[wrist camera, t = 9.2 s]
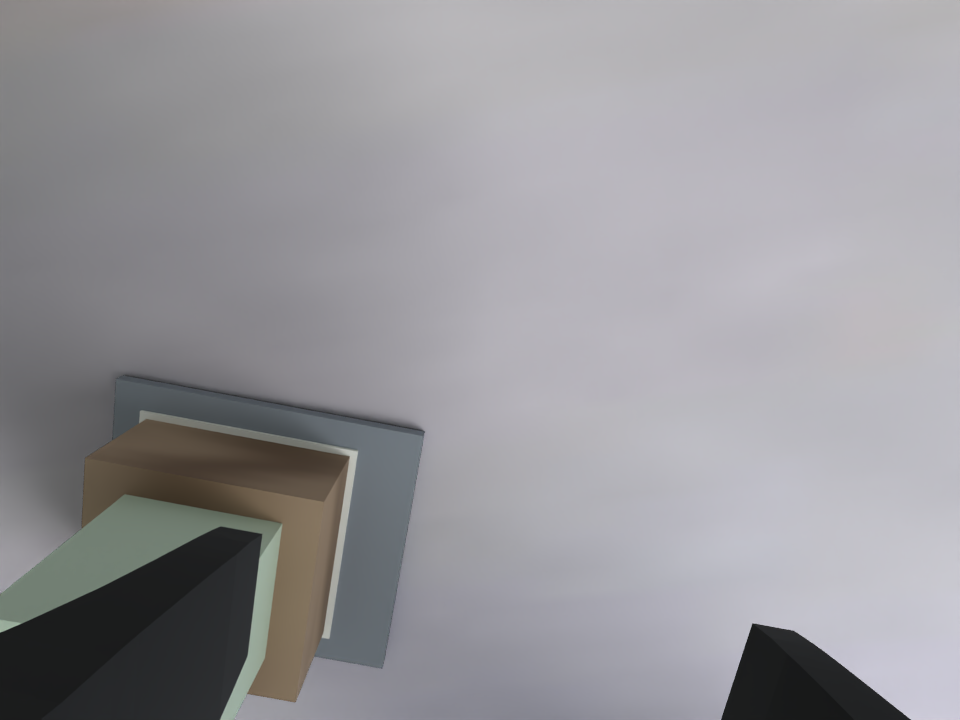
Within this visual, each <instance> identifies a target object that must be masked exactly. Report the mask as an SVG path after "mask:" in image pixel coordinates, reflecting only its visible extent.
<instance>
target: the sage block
mask: <svg viewBox="0 0 960 720" xmlns="http://www.w3.org/2000/svg"><path fill="white" fill-rule="evenodd" d="M220 526H222V527H228V528H233V529H238V530H244V531H249V532H255V533H260V534H262V541H261V549H260V558H259V566H258V574H257V583H256V591H255V599H254V608H253V616H252V624H251V633H250V641H249V649H248V656H247V659H246V661H245V663H244V666H243V668H242V670H241V673H240V675H239V678H238V680H237V682H236V685H235V687H234V689H233V692H232V694H231V696H230V698H229V701H228V703H227V705H226V707H225V710H224V712H223V714H222V716H221V719H220V720H234V718H235V716H236V714H237V713H238V711H239V709H240V707H241V705H242V703H243V701H244V699H245V697H246V695H247V693H248V691H249V689H250V687H251V685H252V683H253V681H254V679H255V677H256V675H257V673H258V671H259V669H260V667H261V665H262V663H263V661H264V659H265V654H266V646H267V638H268V631H269V623H270V615H271V607H272V600H273V592H274V584H275V577H276V569H277V561H278V554H279V546H280V538H281V531H282V523H277V522H272V521H266V520H261V519H256V518H250V517H245V516H239V515H234V514H229V513H223V512H218V511H212V510H207V509H202V508H196V507H191V506H186V505H180V504H175V503H169V502H164V501H159V500H153V499H148V498H142V497H137V496H132V495H126V494H124V495H123V496H122V497H121V498H119V499H118V500H117V501H116V502H115V503H113V504H112V505H111V506H110V507H108V508H107V509H106V510H105V511H103V512H102V513H101V514H100V515H98V516H97V517H96V518H95V519H93V520H92V521H91V522H90V523H88V524H87V525H86V526H85V527H83V528H82V529H81V530H80V531H78V532H77V533H76V534H75V535H73V536H72V537H71V538H70V539H68V540H67V541H66V542H65V543H63V544H62V545H61V546H60V547H58V548H57V549H56V550H55V551H53V552H52V553H51V554H50V555H48V556H47V557H46V558H45V559H44V560H42V561H41V562H40V563H39V564H37V565H36V566H35V567H34V568H32V569H31V570H30V571H29V572H27V573H26V574H25V575H24V576H22V577H21V578H20V579H19V580H17V581H16V582H15V583H14V584H12V585H11V586H10V587H9V588H7V589H6V590H5V591H4V592H2V593H1V594H0V632H3V631H5V630H8V629H10V628H12V627H15V626H17V625H20V624H22V623H24V622H26V621H29V620H31V619H33V618H35V617H37V616H39V615H42V614H44V613H46V612H48V611H50V610H52V609H55V608H57V607H59V606H61V605H63V604H65V603H68V602H70V601H72V600H74V599H76V598H78V597H81V596H83V595H85V594H87V593H89V592H92V591H94V590H96V589H98V588H100V587H102V586H104V585H106V584H108V583H110V582H112V581H114V580H116V579H118V578H120V577H122V576H124V575H126V574H128V573H130V572H132V571H134V570H136V569H138V568H139V567H141V566H143V565H145V564H147V563H149V562H151V561H153V560H155V559H157V558H159V557H161V556H163V555H165V554H166V553H168V552H170V551H172V550H174V549H176V548H178V547H180V546H182V545H184V544H185V543H187V542H189V541H191V540H193V539H195V538H197V537H199V536H201V535H203V534H205V533H207V532H209V531H211V530H213V529H215V528H218V527H220Z"/></svg>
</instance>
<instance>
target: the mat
mask: <svg viewBox="0 0 960 720" xmlns="http://www.w3.org/2000/svg"><path fill="white" fill-rule="evenodd" d="M145 419H150V420H155V421H161V422H166V423H171V424H177V425H182V426H188V427H193V428H198V429H204V430H209V431H215V432H220V433H225V434H231V435H236V436H242V437H247V438H252V439H258V440H263V441H269V442H274V443H279V444H285V445H290V446H296V447H301V448H306V449H312V450H317V451H323V452H328V453H333V454H339V455H344V456H350V459H349V466H348V473H347V479H346V486H345V493H344V499H343V506H342V513H341V519H340V526H339V533H338V539H337V546H336V553H335V559H334V566H333V573H332V579H331V586H330V593H329V599H328V606H327V612H326V619H325V626H324V632H323V635H322V637H321V640H320V642H319V645H318V647H317V650H316V652H315V655H314V656H315V657H321V658H326V659H332V660H337V661H343V662H348V663H354V664H360V665H365V666H371V667H376V668H382V667H383V663H384V658H385V653H386V647H387V641H388V636H389V630H390V625H391V619H392V613H393V608H394V602H395V596H396V591H397V585H398V579H399V574H400V568H401V563H402V557H403V551H404V546H405V540H406V534H407V529H408V523H409V517H410V512H411V506H412V500H413V495H414V489H415V484H416V478H417V472H418V467H419V461H420V455H421V450H422V444H423V438H424V433H425V431H419V430H414V429H409V428H403V427H398V426H393V425H387V424H382V423H376V422H371V421H366V420H360V419H355V418H350V417H344V416H339V415H333V414H328V413H323V412H317V411H312V410H307V409H301V408H296V407H291V406H285V405H280V404H274V403H269V402H264V401H258V400H253V399H248V398H242V397H237V396H231V395H226V394H221V393H215V392H210V391H205V390H199V389H194V388H189V387H183V386H178V385H172V384H167V383H162V382H156V381H151V380H146V379H140V378H135V377H129V376H124V375H123V376H121V377H119V378H117V379H116V387H115V404H114V421H113V439H112V440H114V439H116V438H117V437H119V436H120V435H122V434H123V433H125V432H126V431H128V430H130V429H131V428H133V427H134V426H136V425H137V424H139V423H141V422H142V421H144V420H145Z"/></svg>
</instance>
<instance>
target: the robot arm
mask: <svg viewBox="0 0 960 720" xmlns="http://www.w3.org/2000/svg"><path fill="white" fill-rule="evenodd" d="M261 541H262V534H260V533H255V532H249V531H244V530H238V529H233V528H228V527H222V526H220V527H218V528H215V529H213V530H211V531H209V532H207V533H205V534H203V535H201V536H199V537H197V538H195V539H193V540H191V541H189V542H187V543H185V544H184V545H182V546H180V547H178V548H176V549H174V550H172V551H170V552H168V553H166V554H165V555H163V556H161V557H159V558H157V559H155V560H153V561H151V562H149V563H147V564H145V565H143V566H141V567H139V568H138V569H136V570H134V571H132V572H130V573H128V574H126V575H124V576H122V577H120V578H118V579H116V580H114V581H112V582H110V583H108V584H106V585H104V586H102V587H100V588H98V589H96V590H94V591H92V592H89V593H87V594H85V595H83V596H81V597H78V598H76V599H74V600H72V601H70V602H68V603H65V604H63V605H61V606H59V607H57V608H55V609H52V610H50V611H48V612H46V613H44V614H42V615H39V616H37V617H35V618H33V619H31V620H29V621H26V622H24V623H22V624H20V625H17V626H15V627H12V628H10V629H8V630H5V631H3V632H0V720H220V719H221V716H222V714H223V712H224V710H225V707H226V705H227V703H228V701H229V698H230V696H231V694H232V692H233V689H234V687H235V685H236V682H237V680H238V678H239V675H240V673H241V670H242V668H243V666H244V663H245V661H246V659H247V656H248V649H249V641H250V633H251V624H252V616H253V608H254V599H255V591H256V583H257V574H258V566H259V558H260V549H261ZM721 720H910V719H909V718H908V717H907V716H905V715H904V714H903V713H902V712H900V711H899V710H898V709H896V708H895V707H894V706H893V705H891V704H890V703H889V702H888V701H886V700H885V699H884V698H883V697H881V696H880V695H879V694H878V693H876V692H875V691H874V690H873V689H871V688H870V687H869V686H867V685H866V684H865V683H864V682H862V681H861V680H860V679H859V678H857V677H856V676H855V675H854V674H852V673H851V672H850V671H848V670H847V669H846V668H845V667H843V666H842V665H841V664H839V663H838V662H837V661H836V660H834V659H833V658H832V657H830V656H829V655H828V654H826V653H825V652H824V651H822V650H821V649H820V648H818V647H817V646H816V645H814V644H813V643H811V642H810V641H808V640H807V639H805V638H804V637H802V636H801V635H799V634H798V633H796V632H795V631H791V630H786V629H780V628H775V627H769V626H764V625H758V624H752V627H751V630H750V633H749V636H748V639H747V642H746V645H745V648H744V651H743V654H742V657H741V660H740V664H739V667H738V670H737V673H736V676H735V679H734V682H733V685H732V688H731V691H730V694H729V697H728V700H727V703H726V706H725V709H724V713H723V716H722V719H721Z"/></svg>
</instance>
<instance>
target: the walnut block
mask: <svg viewBox="0 0 960 720" xmlns="http://www.w3.org/2000/svg"><path fill="white" fill-rule="evenodd" d="M349 459H350V456H344V455H339V454H333V453H328V452H323V451H317V450H312V449H306V448H301V447H296V446H290V445H285V444H279V443H274V442H269V441H263V440H258V439H252V438H247V437H242V436H236V435H231V434H225V433H220V432H215V431H209V430H204V429H198V428H193V427H188V426H182V425H177V424H171V423H166V422H161V421H155V420H150V419H145V420H144V421H142V422H141V423H139V424H137V425H136V426H134V427H133V428H131V429H130V430H128V431H126V432H125V433H123V434H122V435H120V436H119V437H117V438H116V439H114V440H112V441H111V442H109V443H108V444H106V445H105V446H103V447H101V448H100V449H98V450H97V451H95V452H94V453H92V454H90V455H89V456H87V457H86V458H85V468H84V489H83V509H82V528H83V527H85V526H86V525H87V524H88V523H90V522H91V521H92V520H93V519H95V518H96V517H97V516H98V515H100V514H101V513H102V512H103V511H105V510H106V509H107V508H108V507H110V506H111V505H112V504H113V503H115V502H116V501H117V500H118V499H119V498H121V497H122V496H123V495H124V494H126V495H132V496H137V497H142V498H148V499H153V500H159V501H164V502H169V503H175V504H180V505H186V506H191V507H196V508H202V509H207V510H212V511H218V512H223V513H229V514H234V515H239V516H245V517H250V518H256V519H261V520H266V521H272V522H277V523H282V531H281V538H280V546H279V554H278V561H277V569H276V577H275V584H274V592H273V600H272V607H271V615H270V623H269V631H268V638H267V646H266V654H265V659H264V661H263V663H262V665H261V667H260V669H259V671H258V673H257V675H256V677H255V679H254V681H253V683H252V685H251V687H250V689H249V691H248V693H247V694H251V695H257V696H263V697H268V698H274V699H279V700H285V701H291V702H296V700H297V697H298V695H299V692H300V690H301V687H302V685H303V682H304V680H305V677H306V675H307V672H308V670H309V667H310V665H311V662H312V660H313V657H314V655H315V652H316V650H317V647H318V645H319V642H320V640H321V637H322V635H323V632H324V626H325V619H326V612H327V606H328V599H329V593H330V586H331V579H332V573H333V566H334V559H335V553H336V546H337V539H338V533H339V526H340V519H341V513H342V506H343V499H344V493H345V486H346V479H347V473H348V466H349Z"/></svg>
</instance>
